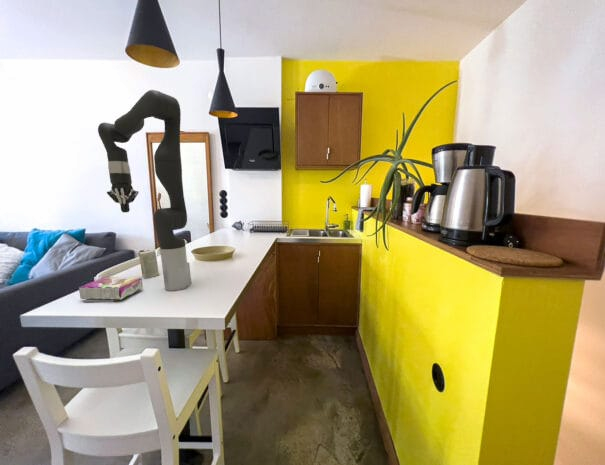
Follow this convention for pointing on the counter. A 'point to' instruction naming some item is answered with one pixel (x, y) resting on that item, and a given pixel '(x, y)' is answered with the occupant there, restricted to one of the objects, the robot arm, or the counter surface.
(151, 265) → the skincare box
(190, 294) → the counter surface
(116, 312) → the counter surface
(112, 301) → the felt pad
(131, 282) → the candy bar box
